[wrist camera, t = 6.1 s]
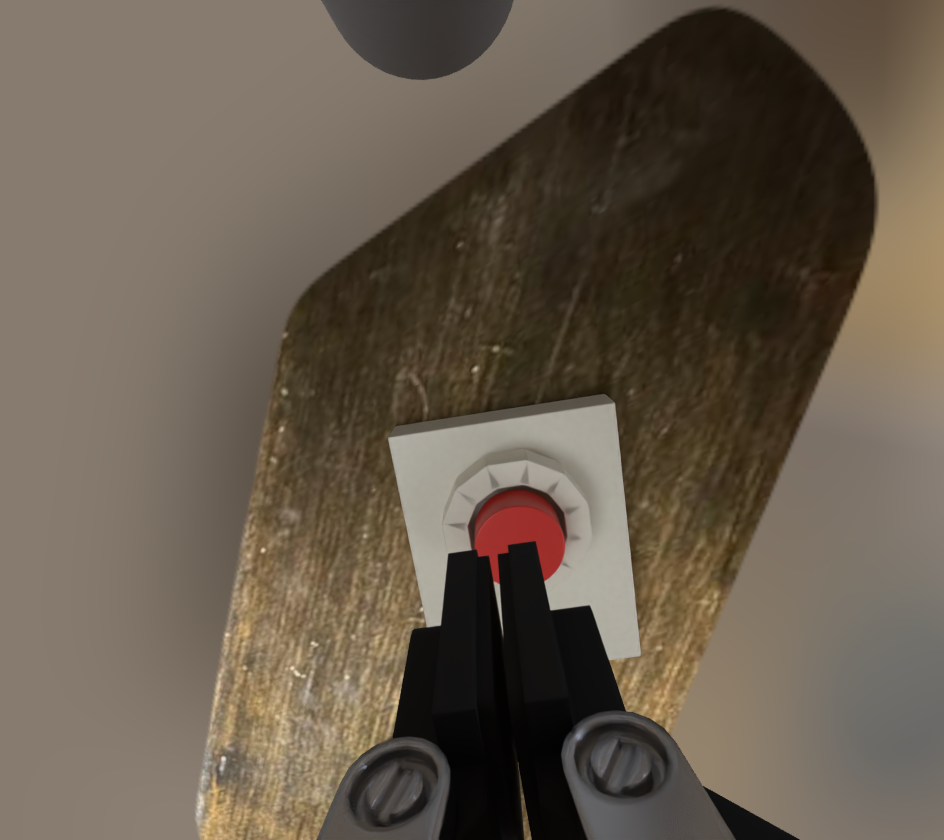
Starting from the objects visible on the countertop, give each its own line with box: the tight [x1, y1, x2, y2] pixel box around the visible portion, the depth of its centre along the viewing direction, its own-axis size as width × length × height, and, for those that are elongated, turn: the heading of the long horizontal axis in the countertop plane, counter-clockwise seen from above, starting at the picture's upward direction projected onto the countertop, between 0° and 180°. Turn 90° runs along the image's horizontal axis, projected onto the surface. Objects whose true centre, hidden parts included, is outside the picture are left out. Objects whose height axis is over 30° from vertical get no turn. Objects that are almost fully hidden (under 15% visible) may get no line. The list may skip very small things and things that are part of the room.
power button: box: [474, 489, 565, 584], centre depth 26 cm, size 4×4×2 cm
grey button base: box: [388, 394, 641, 660], centre depth 29 cm, size 14×11×4 cm
